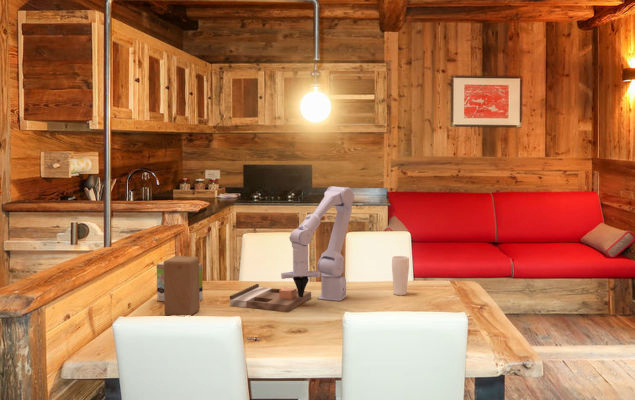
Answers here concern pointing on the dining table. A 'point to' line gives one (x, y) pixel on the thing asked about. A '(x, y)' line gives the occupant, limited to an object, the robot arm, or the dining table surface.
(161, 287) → the tea box
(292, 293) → the terracotta block
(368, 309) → the dining table surface
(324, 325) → the dining table surface
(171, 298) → the wooden block
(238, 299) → the trap board
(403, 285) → the drinking glass
